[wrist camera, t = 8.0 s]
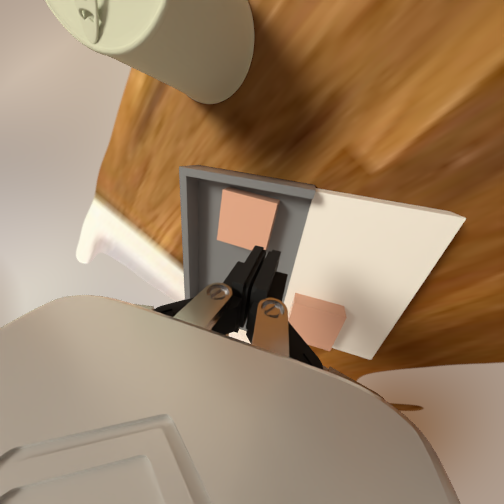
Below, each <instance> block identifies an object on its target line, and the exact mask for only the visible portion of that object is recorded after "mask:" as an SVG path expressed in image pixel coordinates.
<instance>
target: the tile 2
mask: <svg viewBox="0 0 504 504" xmlns="http://www.w3.org/2000/svg"><path fill="white" fill-rule="evenodd" d="M346 318H347V317H346V312H345V308H344V306H342V305H339V304H335V303H331V302H328V301H324V300H321V299H317V298H313V297H310V296H306V295H302V294H299V293H295V295H294V298H293V302H292V305H291V308H290V312H289V315H288V321H289V323H290V324H291V325H292V326H293V327H294V329H295V330H296V331H297V332H298V334H299V335H300V336H301V337H302V339H303V340H304V341H305V342H306V343H307V344H309V345H312V346H315V347H318V348H321V349H324V350H327V351H330V350H331V348H332V346H333V344H334V342H335V340H336V338H337V336H338V334H339V332H340V330H341V328H342V326H343V324H344V322H345V320H346Z"/></svg>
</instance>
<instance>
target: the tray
mask: <svg viewBox="0 0 504 504" xmlns="http://www.w3.org/2000/svg"><path fill="white" fill-rule="evenodd" d="M179 175H180V198H181V220H182V243H183V265H184V288H185V300H186V299H190V298H194V297H196V296H197V295H198V294H199V293H200V292H201V291H202V290H203V289H204V288H205V287H206V286H208V285H210V284H212V283H223V282H224V280H225V279H226V278H227V276H228V275H229V273H230V272H231V270H232V269H233V267H234V266H235V265H236V263H237V262H238V261H240V262H243V263H244V262H245V261H246V259H247V258H248V256H249V254H250V253H251V251H252V250H249V249H245V248H242V247H239V246H235V245H232V244H229V243H226V242H222V241H219V240H217V235H218V226H219V217H220V208H221V199H222V190H223V189H225V188H228V187H232V188H236V189H240V190H244V191H248V192H251V193H255V194H259V195H263V196H267V197H271V198H275V199H279V200H280V203H279V206H278V210H277V214H276V218H275V222H274V226H273V230H272V233H271V237H270V241H269V245H268V248H267V250H266V256H267V254H268V251H271V252H272V250H277V251H281V255H280V259H279V264H278V268H277V272H281V273H285V274H288V277H287V281H286V285H285V290H284V294H283V299H282V302H283V303H284V300H285V296H286V293H287V289H288V285H289V282H290V278H291V274H292V271H293V267H294V263H295V260H296V256H297V252H298V248H299V245H300V241H301V237H302V234H303V230H304V226H305V223H306V219H307V215H308V212H309V208H310V204H311V201H312V199H313V198H314V195H315V191H316V189H315V185H312V184H307V183H301V182H295V181H289V180H283V179H277V178H272V177H266V176H260V175H254V174H248V173H242V172H236V171H231V170H225V169H219V168H213V167H207V166H201V165H192V166H179ZM266 256H265V258H266ZM246 323H247V320H246V322H245V325H244V327H243V328H241V327H240V328H239V329H242V330H245V331H247V329H246Z"/></svg>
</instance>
